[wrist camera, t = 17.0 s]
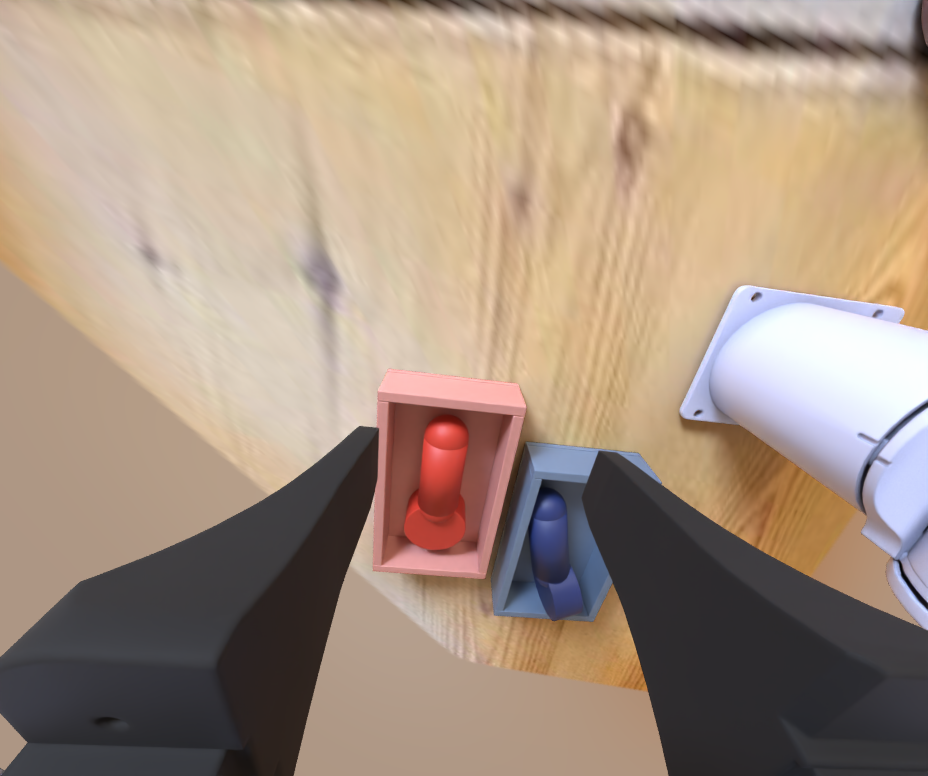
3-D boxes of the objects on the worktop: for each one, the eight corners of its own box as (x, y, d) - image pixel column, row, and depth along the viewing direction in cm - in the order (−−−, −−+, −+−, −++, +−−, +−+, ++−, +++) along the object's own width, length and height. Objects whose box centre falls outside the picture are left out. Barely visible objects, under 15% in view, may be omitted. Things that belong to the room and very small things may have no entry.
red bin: (387, 368, 20) (377, 390, 17) (518, 383, 20) (527, 407, 18) (381, 536, 26) (372, 571, 23) (482, 543, 26) (485, 579, 24)
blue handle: (550, 470, 24) (515, 479, 24) (579, 504, 20) (538, 515, 20) (557, 579, 27) (526, 589, 27) (584, 626, 23) (548, 638, 23)
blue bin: (525, 441, 22) (534, 470, 20) (638, 452, 23) (662, 482, 20) (490, 579, 28) (493, 615, 26) (581, 585, 29) (593, 622, 26)
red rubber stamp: (416, 402, 20) (410, 426, 18) (482, 410, 21) (485, 434, 18) (406, 524, 25) (400, 556, 22) (461, 528, 25) (461, 560, 23)
